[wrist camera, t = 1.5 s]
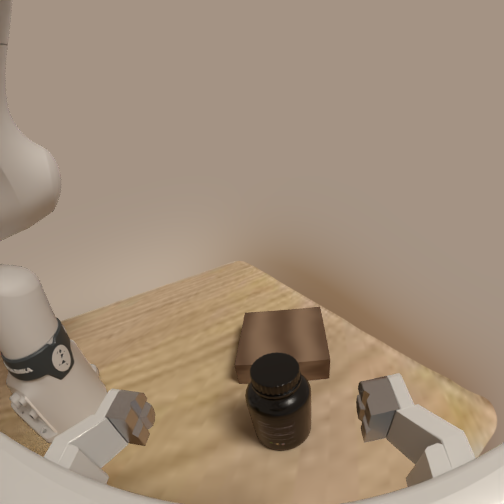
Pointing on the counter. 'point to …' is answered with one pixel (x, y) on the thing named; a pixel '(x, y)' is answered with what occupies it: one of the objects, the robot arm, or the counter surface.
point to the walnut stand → (284, 341)
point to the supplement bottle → (279, 401)
